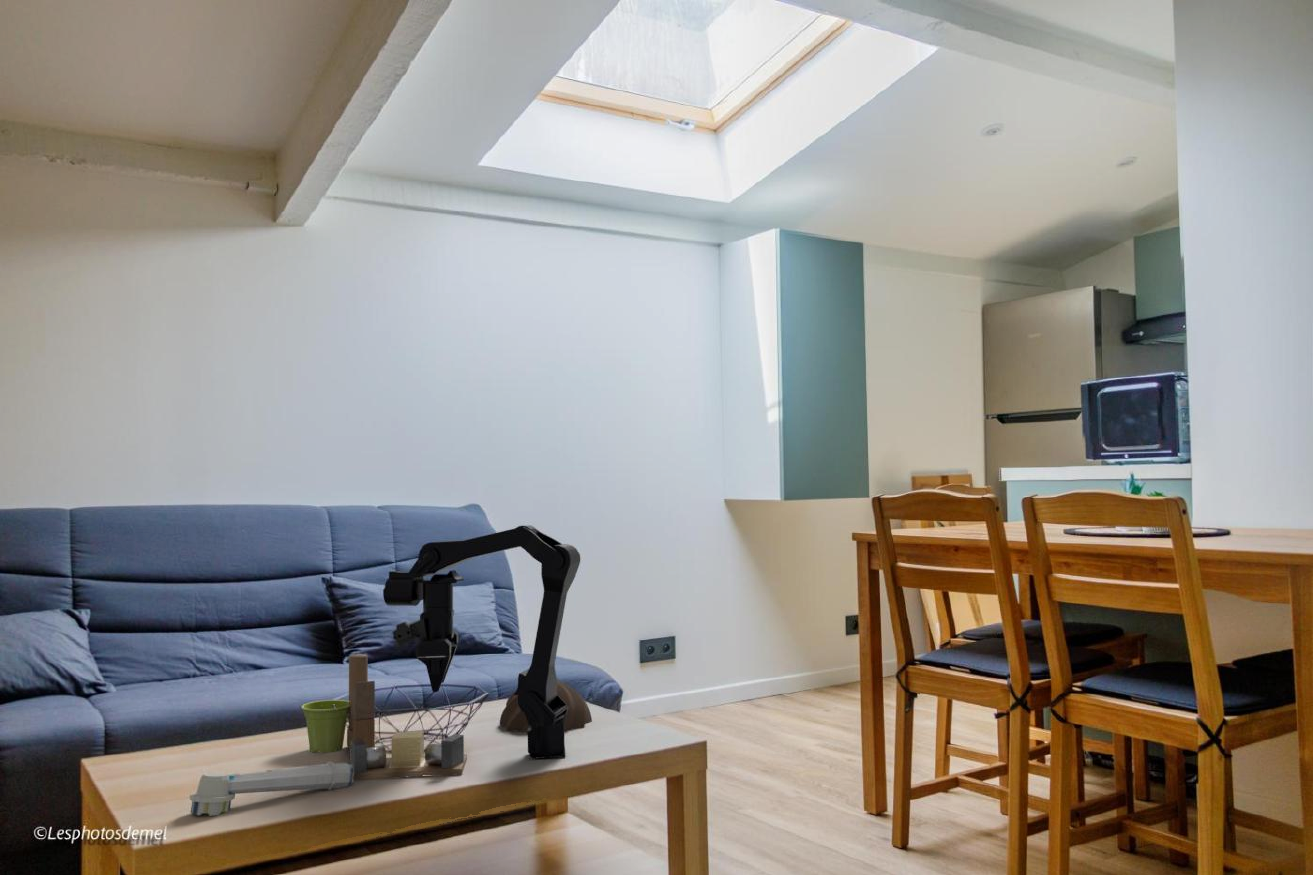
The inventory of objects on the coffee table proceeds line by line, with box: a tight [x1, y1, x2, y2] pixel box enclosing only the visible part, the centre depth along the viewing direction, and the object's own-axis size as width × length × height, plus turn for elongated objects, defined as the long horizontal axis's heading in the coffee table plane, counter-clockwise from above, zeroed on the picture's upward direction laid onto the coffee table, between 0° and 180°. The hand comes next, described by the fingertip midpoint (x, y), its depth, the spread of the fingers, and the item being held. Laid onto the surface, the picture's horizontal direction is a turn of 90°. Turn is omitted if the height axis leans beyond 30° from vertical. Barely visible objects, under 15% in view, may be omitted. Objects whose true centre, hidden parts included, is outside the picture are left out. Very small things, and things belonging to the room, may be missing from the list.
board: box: [353, 753, 468, 781], centre depth 173 cm, size 20×10×1 cm, turn 97°
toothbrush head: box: [189, 761, 354, 817], centre depth 156 cm, size 5×7×25 cm
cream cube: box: [390, 730, 425, 767], centre depth 173 cm, size 5×5×5 cm
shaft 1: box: [349, 739, 387, 774], centre depth 170 cm, size 6×5×5 cm
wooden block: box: [346, 653, 376, 750], centre depth 187 cm, size 4×11×18 cm, turn 26°
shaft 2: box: [424, 734, 465, 769], centre depth 172 cm, size 6×5×5 cm
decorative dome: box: [499, 679, 593, 735], centre depth 208 cm, size 19×20×10 cm
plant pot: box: [301, 699, 350, 754], centre depth 189 cm, size 9×9×9 cm
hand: (438, 687), depth 187 cm, fingers open, 9 cm apart
